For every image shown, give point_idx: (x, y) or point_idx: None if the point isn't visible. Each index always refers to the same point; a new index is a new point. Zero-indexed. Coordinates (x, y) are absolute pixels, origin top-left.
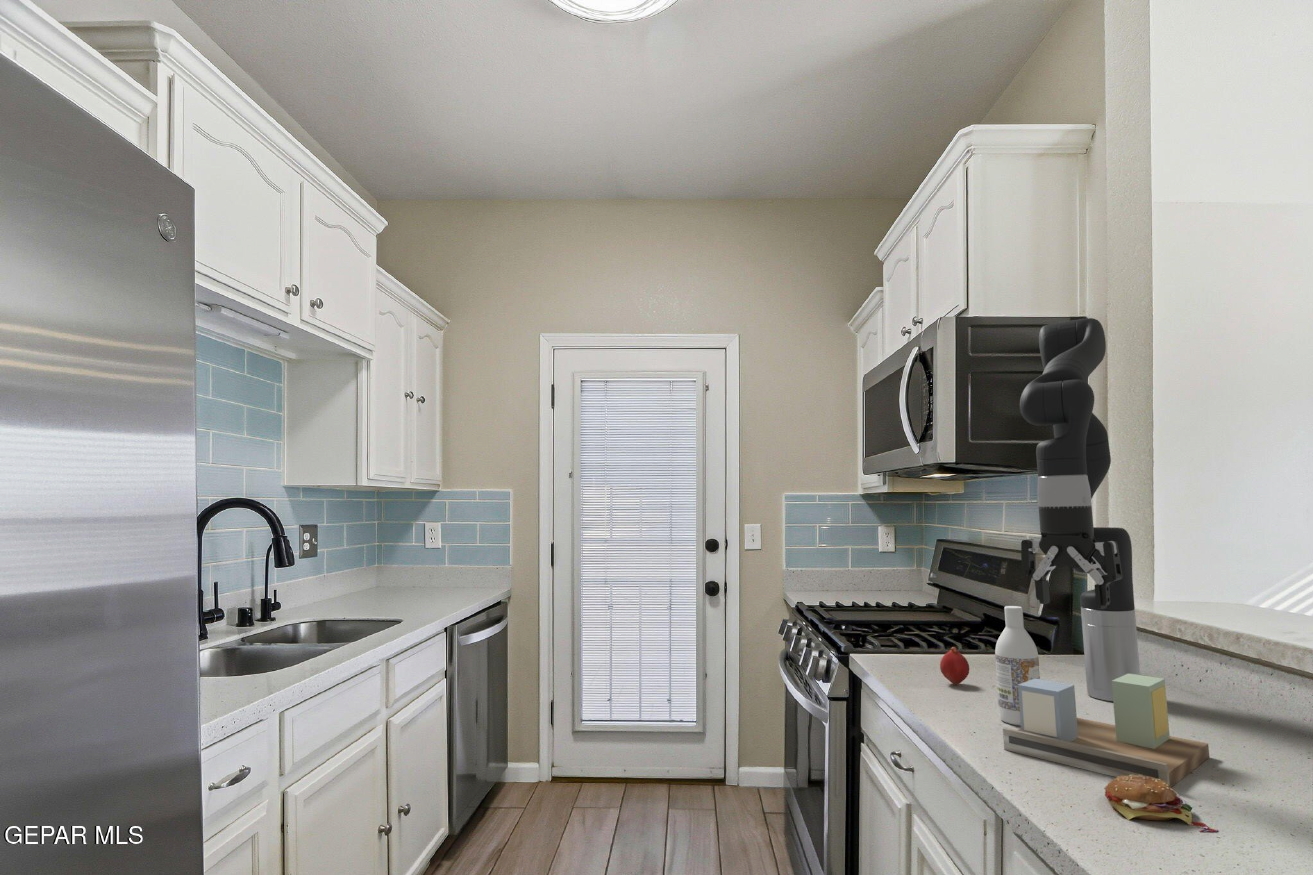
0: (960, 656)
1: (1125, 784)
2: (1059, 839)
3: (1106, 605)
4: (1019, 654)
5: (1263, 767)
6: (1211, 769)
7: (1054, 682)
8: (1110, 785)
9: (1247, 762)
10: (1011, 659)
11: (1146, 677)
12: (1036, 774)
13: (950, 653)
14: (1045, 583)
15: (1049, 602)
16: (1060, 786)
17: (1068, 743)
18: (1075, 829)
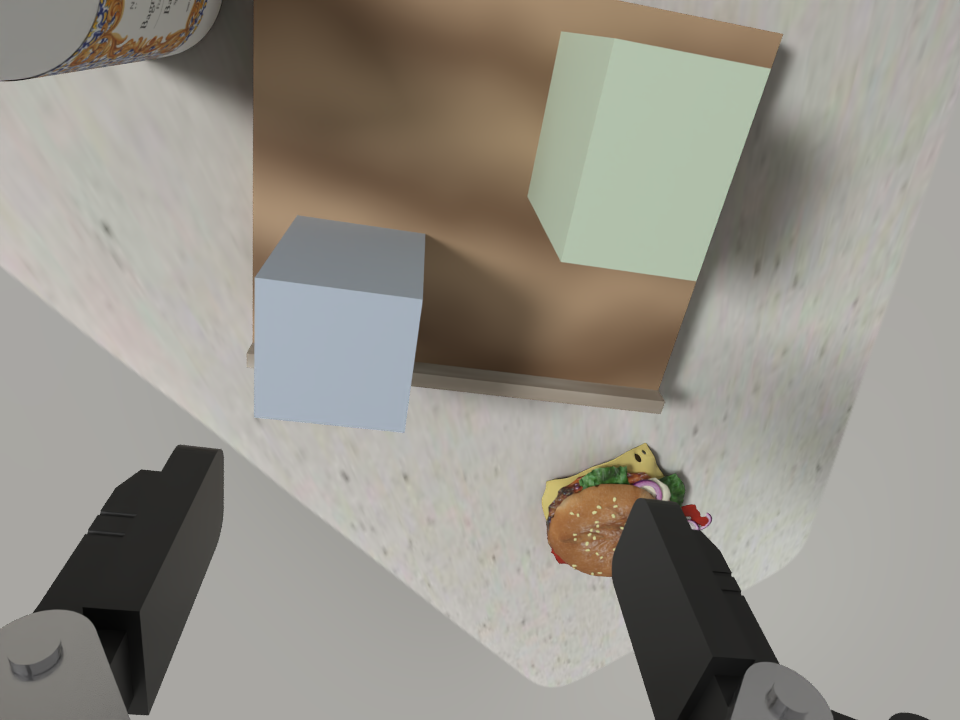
0: None
1: (590, 561)
2: (506, 661)
3: (676, 510)
4: (38, 70)
5: (890, 44)
6: (749, 164)
7: (345, 300)
8: (562, 556)
9: (859, 16)
10: (14, 80)
11: (694, 91)
12: (394, 454)
13: None
14: (155, 639)
15: (220, 449)
16: (454, 487)
17: (438, 388)
18: (518, 625)
